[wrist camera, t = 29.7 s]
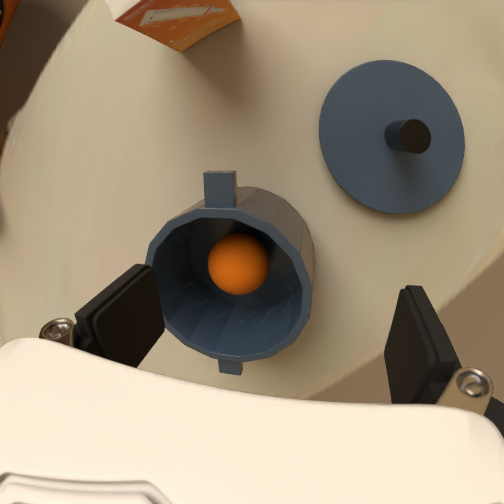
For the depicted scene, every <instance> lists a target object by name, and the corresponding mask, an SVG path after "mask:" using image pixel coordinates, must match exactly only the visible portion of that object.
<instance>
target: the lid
mask: <svg viewBox="0 0 504 504" xmlns="http://www.w3.org/2000/svg"><path fill="white" fill-rule="evenodd" d="M319 139H320V144H321V150H322V153H323V156H324V159H325V161H326V164H327V166H328V168H329V170H330V172H331V173H332V175H333V176H334V178H335V179H336V181H337V182H338V183H339V185H340V186H341V187H342V188H343V189H344V190H345V191H346V192H347V193H348V194H349V195H350V196H352V197H353V198H354V199H355V200H357V201H358V202H360V203H362V204H363V205H365V206H367V207H370V208H372V209H374V210H378V211H381V212H385V213H391V214H405V213H412V212H416V211H420V210H422V209H425V208H427V207H429V206H431V205H432V204H434V203H436V202H437V201H438V200H439V199H441V198H442V197H443V196H444V195H445V194H446V193H447V192H448V191H449V189H450V188H451V187H452V185H453V184H454V182H455V180H456V178H457V176H458V174H459V172H460V169H461V166H462V162H463V158H464V149H465V140H464V131H463V126H462V122H461V118H460V116H459V113H458V111H457V108H456V106H455V104H454V103H453V101H452V99H451V98H450V96H449V95H448V93H447V92H446V91H445V90H444V88H443V87H442V86H441V85H440V84H439V83H438V82H437V81H436V80H435V79H433V78H432V77H431V76H430V75H428V74H427V73H425V72H424V71H422V70H420V69H418V68H416V67H414V66H412V65H409V64H406V63H402V62H398V61H391V60H377V61H371V62H367V63H364V64H361V65H358V66H356V67H354V68H352V69H351V70H349V71H348V72H346V73H345V74H344V75H342V76H341V77H340V78H339V79H338V80H337V81H336V82H335V84H334V85H333V86H332V88H331V89H330V91H329V93H328V94H327V96H326V98H325V101H324V104H323V106H322V109H321V114H320V120H319Z"/></svg>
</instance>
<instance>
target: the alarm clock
mask: <svg viewBox="0 0 504 504" xmlns="http://www.w3.org/2000/svg"><path fill="white" fill-rule="evenodd" d="M19 2H20V0H0V47H1V44H2V42H3V38H4V36H5V34H6V31H7V28H8V26H9V24H10V21H11V19H12V17H13V14H14V12H15V10H16V8H17V6H18V4H19Z"/></svg>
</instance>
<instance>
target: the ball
mask: <svg viewBox="0 0 504 504" xmlns="http://www.w3.org/2000/svg"><path fill="white" fill-rule="evenodd" d="M269 268H270V260H269V255H268V252H267V250H266V248H265V247H264V245H263V244H262V243H261V242H260V241H259V240H258V239H257V238H255V237H253V236H251V235H249V234H245V233H233V234H229V235H226V236H224V237H223V238H221V239H220V240H219V241H217V242H216V244H215V245H214V246H213V248H212V249H211V252H210V254H209V258H208V270H209V274H210V276H211V278H212V280H213V281H214V283H215V284H216V285H217V286H218V287H219V288H220V289H222V290H223V291H225V292H227V293H230V294H235V295H243V294H248V293H250V292H253V291H255V290H256V289H258V288H259V287H260V286H261V285H262V284H263V282H264V281H265V279H266V278H267V275H268V273H269Z"/></svg>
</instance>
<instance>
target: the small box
mask: <svg viewBox="0 0 504 504" xmlns="http://www.w3.org/2000/svg"><path fill="white" fill-rule="evenodd" d="M105 2H106V4H107V6H108V8H109V10H110V13H111V14H112V16H113V19H114V21H116V22H119V23H121V24H123V25H125V26H127V27H130V28H132V29H134V30H136V31H138V32H140V33H142V34H144V35H147V36H149V37H151V38H152V39H154V40H156V41H158V42H160V43H162V44H164V45H166V46H168V47H170V48H172V49H174V50H176V51H178V52H182V51H184V50H185V49H186V48H188V47H189V46H191V45H193V44H194V43H196V42H197V41H199V40H201V39H202V38H204V37H206V36H207V35H209V34H211V33H213V32H214V31H216V30H218V29H220V28H222V27H224V26H226V25H228V24H230V23H232V22H234V21H236V20H238V19H240V15H239V14H238V12H237V11H236V9H235V8H234V6H233V5H232V3H231V2H230V0H105Z"/></svg>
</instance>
